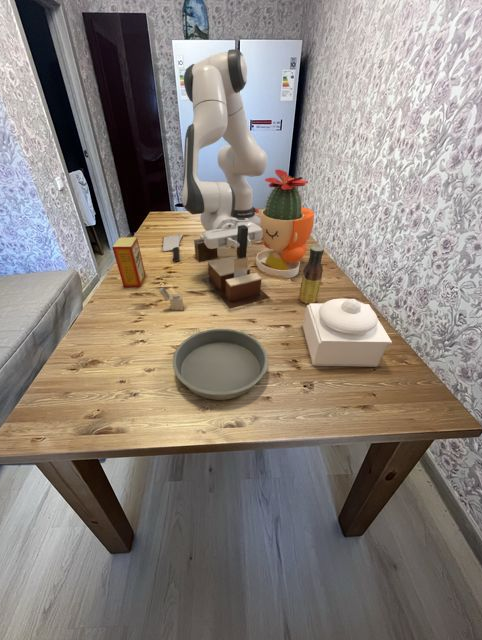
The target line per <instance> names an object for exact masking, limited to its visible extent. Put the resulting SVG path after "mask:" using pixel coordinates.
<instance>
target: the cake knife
mask: <svg viewBox="0 0 482 640" xmlns="http://www.w3.org/2000/svg"><path fill="white" fill-rule="evenodd" d="M247 239H248V227H246V226H245V225H241V226H238V231H237V240H238V241H239V242H240V247H238V248H236V257H237V259H234V278H235V277H240V276H244V275H247V266H248V265H249V263H248V262H249V256H248V255H247V253H248V246H247Z"/></svg>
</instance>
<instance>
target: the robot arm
mask: <svg viewBox="0 0 482 640" xmlns="http://www.w3.org/2000/svg"><path fill="white" fill-rule="evenodd" d="M247 79H248V66H247V63H246V59H245V58H244V54H243V53H242V52H241V51H240V50H239V49H235V48H233V49H228V51H223V52H219V53H214V54H212V55H210V56H209V57H206V58H204V59H202V60H200V61H198V62H197V63H192V64H190V65H189V66H188V67H187V68H185V71H184V74H183V84H184V85H183V86H184V89H185V92H186V96H187V98H188V100H189V101H190V102H191V103H192V111H193V119H192V123H191V124H190V125H188V127H187V129H186V132H185V138H184V150H183V151H184V153H183V179H182V181H183V182H182V189H181V190H182V192H181V203H182V206H183V208H184V209H185V210H186V211H187V212H188V213H190V215H200V223H201V225H202V227H203V229H204V230H205V231H204V232H202V234H200V235H199V239H202V240H204V243H205V245H206V246H207V248H209V249H214V248H217V249H219V248H224V247H234V248H235V249H237V248H238V247H240V242H239V241H238V240H237V231H238V226H241V225H245V226H246V227H248V239H247V247H249V246H251V243H252V242H257V241H261V240H262V239H263V237H262V228H261V227H260V220H261V217H260V216H258V215H256V214H259V212H260V209H259V208H257V207H254V206H253V199H254V197H253V195H254V190H253V188H252V186H251V185H250V184H249V182H248V180H247V177H250V178H251V177H252V178H253V177H260V176H262V175H263V174H264V173H265V172H266V170H267V168H268V163H269V161H268V155H267V153H266V151H265V150H264V149H263V148H261V146H259V144H258V143H257V141H256V139H255V138H254V136H253V134H252V132H251V130H250V128H249V125H248V120H247V117H246V112H245V108H244V102H243V99H242V95H241V91H243V90H244V89H245V87H246V84H247ZM220 139H223V140H224V141H225V142H226V143H227V145H224V146H222V147H220V149H219V150H218V153H217V164H218V167H219V168H220V169H221V171H222V172H223V175H224V176H225V179H226V181H205V180H204V181H203V180H202V181H201V180H200V179H199V176H198V175H199V174H198V172H199V171H198V170H199V153H200V151H201V149H204V148H205V147H209V146H211V145H213V144H215V143H217V142H218V141H220Z"/></svg>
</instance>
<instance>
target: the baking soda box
mask: <svg viewBox="0 0 482 640" xmlns="http://www.w3.org/2000/svg"><path fill="white" fill-rule="evenodd" d="M111 249H112V251H113V254H114V258H115V262H116V265H117V268H118V272H119V276H120V279H121V283H122V286H123V288H141V287H142V285H143V282H144V280H145V278H146V276H147V275H146V271H145V266H144V262H143V257H142V253H141V248H140V244H139V239H138V236H123V237H122V236H120V237H119V238H118V239H117V240H116V241H115V243H114V244H113V245H112V247H111Z"/></svg>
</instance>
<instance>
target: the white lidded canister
mask: <svg viewBox="0 0 482 640" xmlns="http://www.w3.org/2000/svg"><path fill="white" fill-rule="evenodd" d="M302 329H303V334H304V336H305V341H306V345H307V348H308V353H309V357H310V360H311V363H312V366H317V367H319V366H321V367H322V366H323V367H325V366H327V367H370V368H371V367H372V368H373V367H375V368H377V367H379V365H380V363H381V361H382V359H383V356H384V354H385V352H386V350H387V349H388V346H389V345H392V343H393V340H392V339H391V338H390V336H389V335H388V333H387V331H386V329H385V328H384V327H383V325H382V323H381V322H380V319H379V318H378V316H377V313H376V312H375V311H374V310H373V308H372V307H371V305H370V304H369V303H363V302H362V301H359V300H357V299H356V298H343V297H342V298H332V299H329V300H327V301H325V302H323V303H317V302H316V303H310V304H309V305H308V304H306V308H305V312H304V317H303V323H302Z"/></svg>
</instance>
